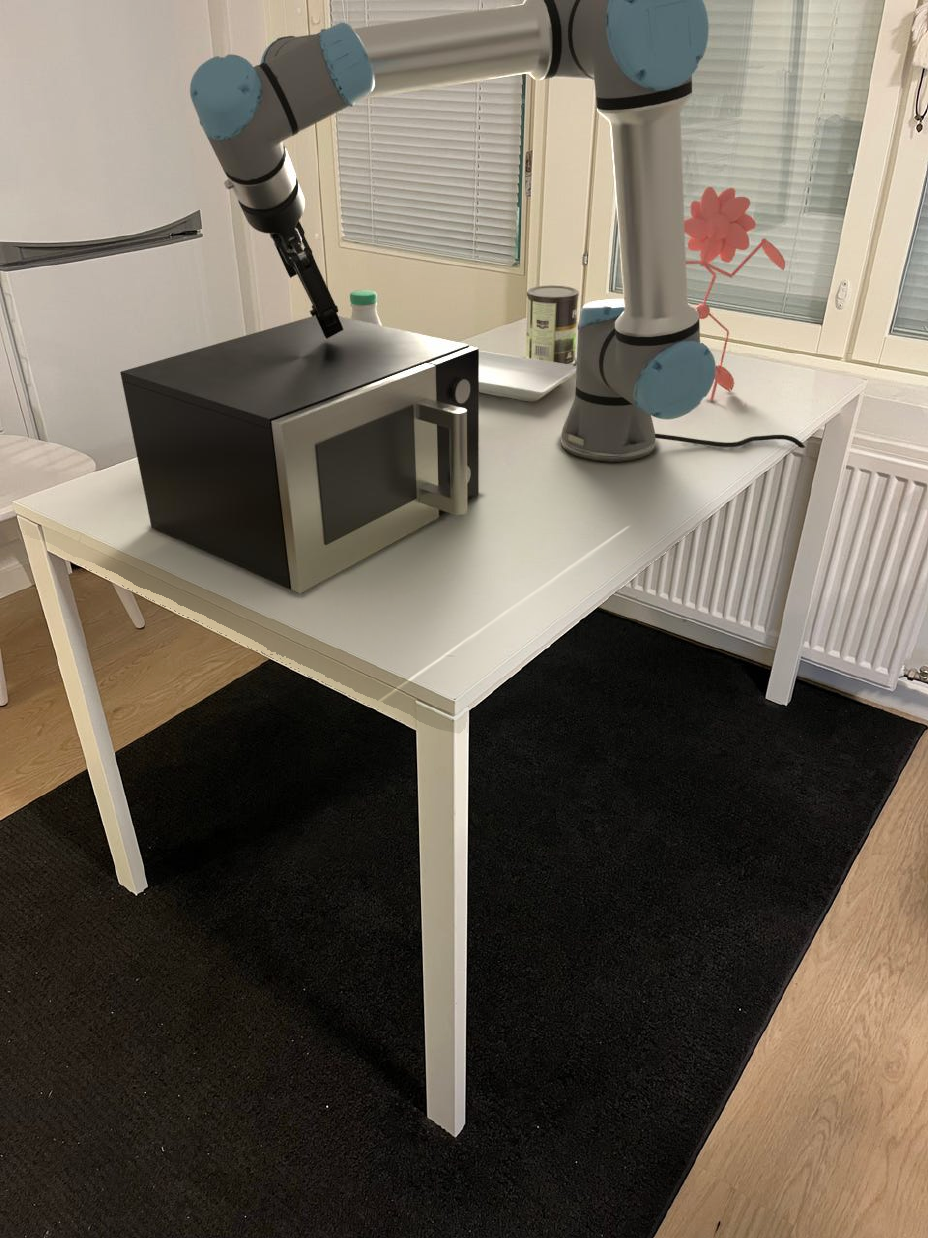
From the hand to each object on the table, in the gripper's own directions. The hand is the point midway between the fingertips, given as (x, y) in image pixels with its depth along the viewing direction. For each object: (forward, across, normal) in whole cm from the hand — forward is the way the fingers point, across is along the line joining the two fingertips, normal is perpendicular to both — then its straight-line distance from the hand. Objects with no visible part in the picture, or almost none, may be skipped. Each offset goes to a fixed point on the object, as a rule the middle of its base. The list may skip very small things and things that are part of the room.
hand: (315, 301), depth 134 cm
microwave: (+11, +23, -14) cm, 29 cm away
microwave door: (+3, +39, -8) cm, 40 cm away
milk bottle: (+40, -7, +2) cm, 41 cm away
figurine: (+53, +16, +59) cm, 81 cm away
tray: (+50, -5, +25) cm, 56 cm away
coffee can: (+60, -9, +40) cm, 73 cm away
